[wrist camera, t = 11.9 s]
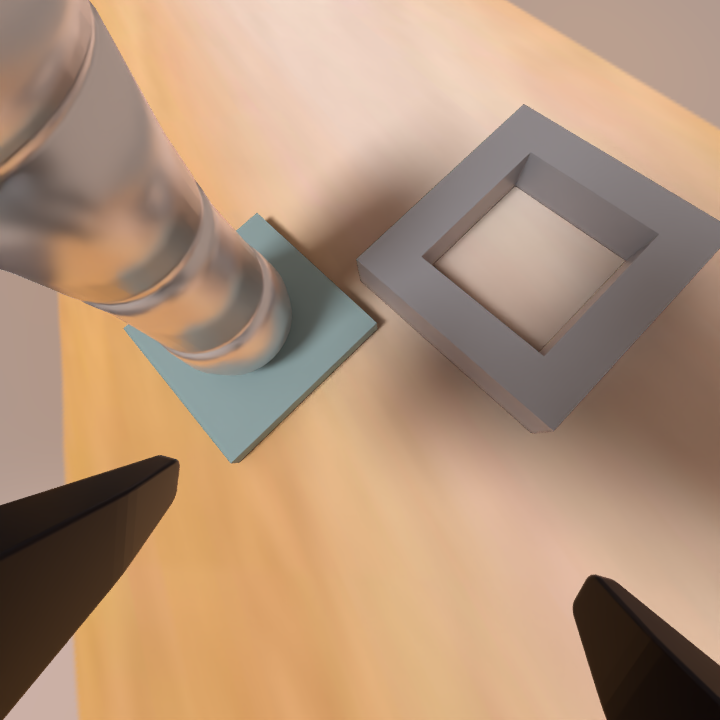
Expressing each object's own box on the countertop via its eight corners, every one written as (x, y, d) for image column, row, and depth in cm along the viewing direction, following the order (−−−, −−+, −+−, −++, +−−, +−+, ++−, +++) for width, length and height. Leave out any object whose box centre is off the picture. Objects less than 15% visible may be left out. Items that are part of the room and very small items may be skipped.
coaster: (239, 462, 19) (230, 463, 18) (135, 333, 21) (123, 328, 20) (377, 328, 20) (376, 322, 19) (262, 222, 22) (257, 212, 21)
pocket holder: (531, 433, 17) (553, 431, 15) (360, 280, 21) (356, 259, 18) (691, 258, 19) (735, 230, 17) (509, 141, 22) (523, 104, 20)
